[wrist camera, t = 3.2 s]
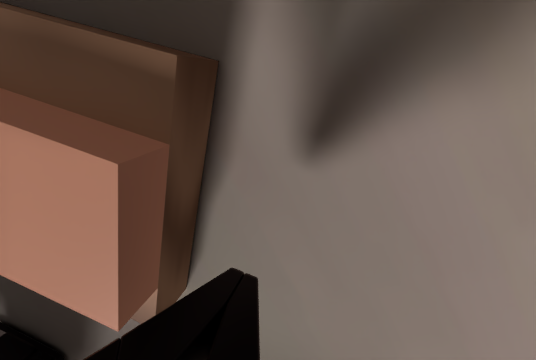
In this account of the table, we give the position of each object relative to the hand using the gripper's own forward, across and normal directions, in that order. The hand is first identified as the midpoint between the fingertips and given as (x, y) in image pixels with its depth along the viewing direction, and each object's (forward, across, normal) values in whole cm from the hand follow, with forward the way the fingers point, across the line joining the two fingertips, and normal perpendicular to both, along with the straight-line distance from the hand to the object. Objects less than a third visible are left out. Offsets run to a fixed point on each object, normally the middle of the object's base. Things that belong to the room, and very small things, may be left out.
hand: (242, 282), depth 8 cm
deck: (+4, +8, 0) cm, 9 cm away
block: (+1, +8, 0) cm, 8 cm away
